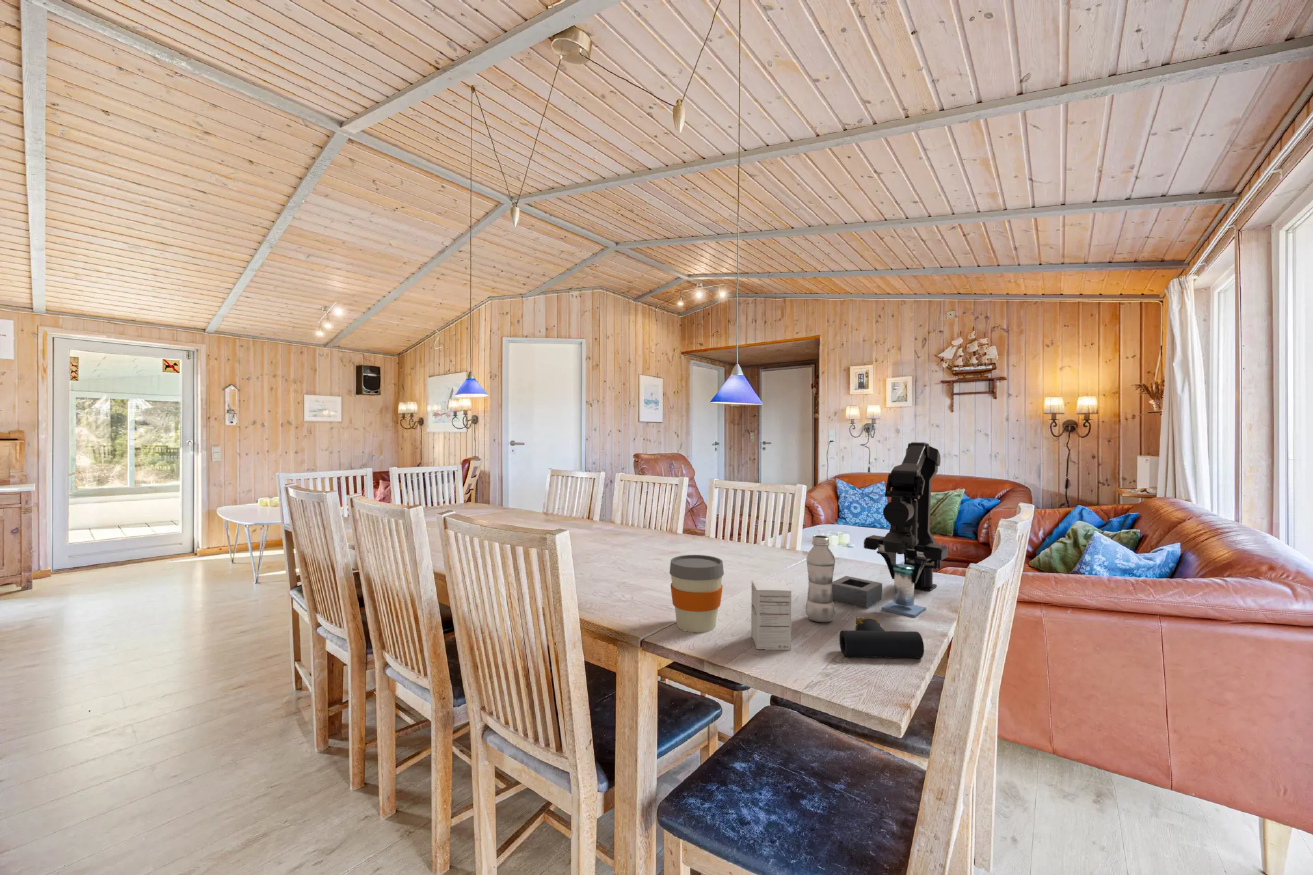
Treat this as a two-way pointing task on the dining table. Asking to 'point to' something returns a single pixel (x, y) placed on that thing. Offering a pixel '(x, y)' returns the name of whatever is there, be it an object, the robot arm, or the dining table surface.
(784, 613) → the supplement box
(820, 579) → the plastic bottle
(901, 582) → the green lidded jar
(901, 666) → the dining table surface
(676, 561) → the reusable coffee cup
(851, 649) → the pipe connector
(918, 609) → the mat
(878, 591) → the housing
